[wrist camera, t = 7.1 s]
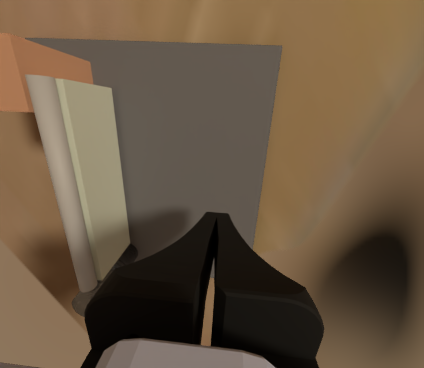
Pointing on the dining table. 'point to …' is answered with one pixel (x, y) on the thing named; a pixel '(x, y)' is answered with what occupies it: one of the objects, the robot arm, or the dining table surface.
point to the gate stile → (33, 70)
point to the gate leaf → (83, 171)
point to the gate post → (84, 297)
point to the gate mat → (185, 130)
